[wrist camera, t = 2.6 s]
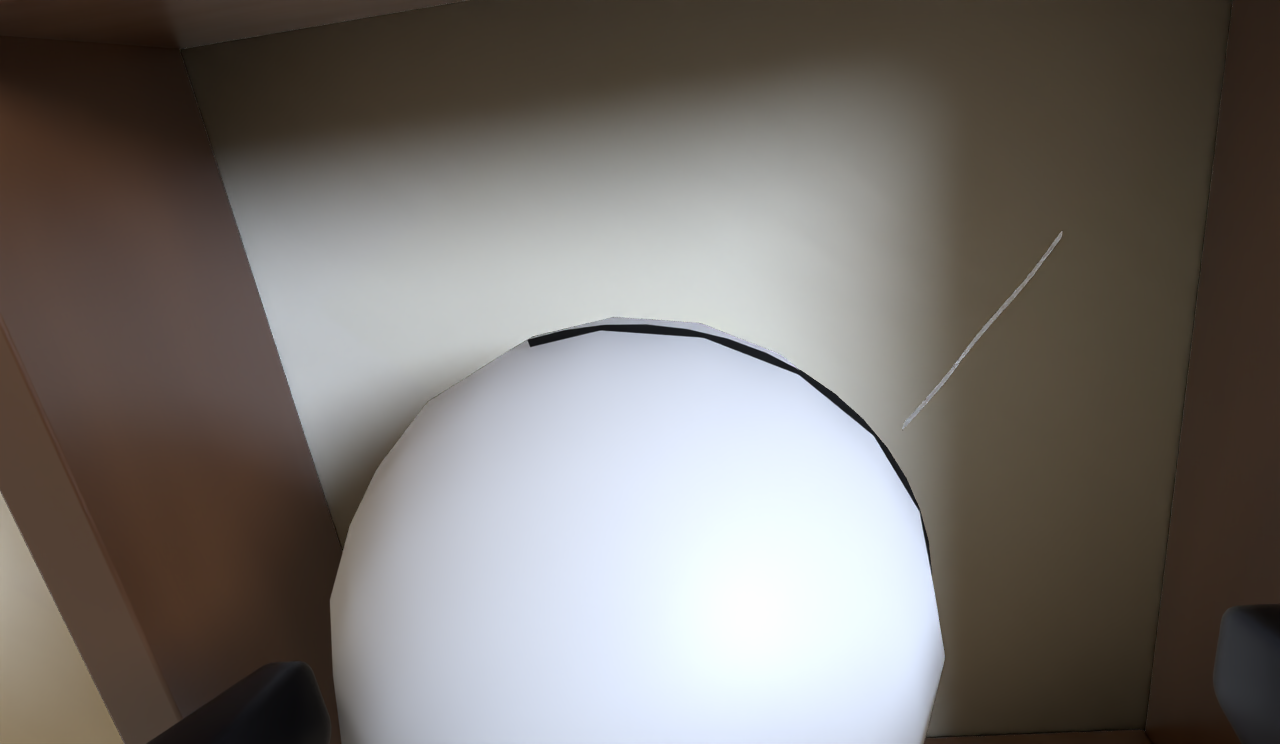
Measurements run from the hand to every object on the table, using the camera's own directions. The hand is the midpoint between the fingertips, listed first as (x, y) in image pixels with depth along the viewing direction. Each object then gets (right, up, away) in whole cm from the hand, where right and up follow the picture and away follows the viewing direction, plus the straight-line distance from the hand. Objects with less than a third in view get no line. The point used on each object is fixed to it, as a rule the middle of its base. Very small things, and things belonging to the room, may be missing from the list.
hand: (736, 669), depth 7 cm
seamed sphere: (0, +2, +5) cm, 6 cm away
